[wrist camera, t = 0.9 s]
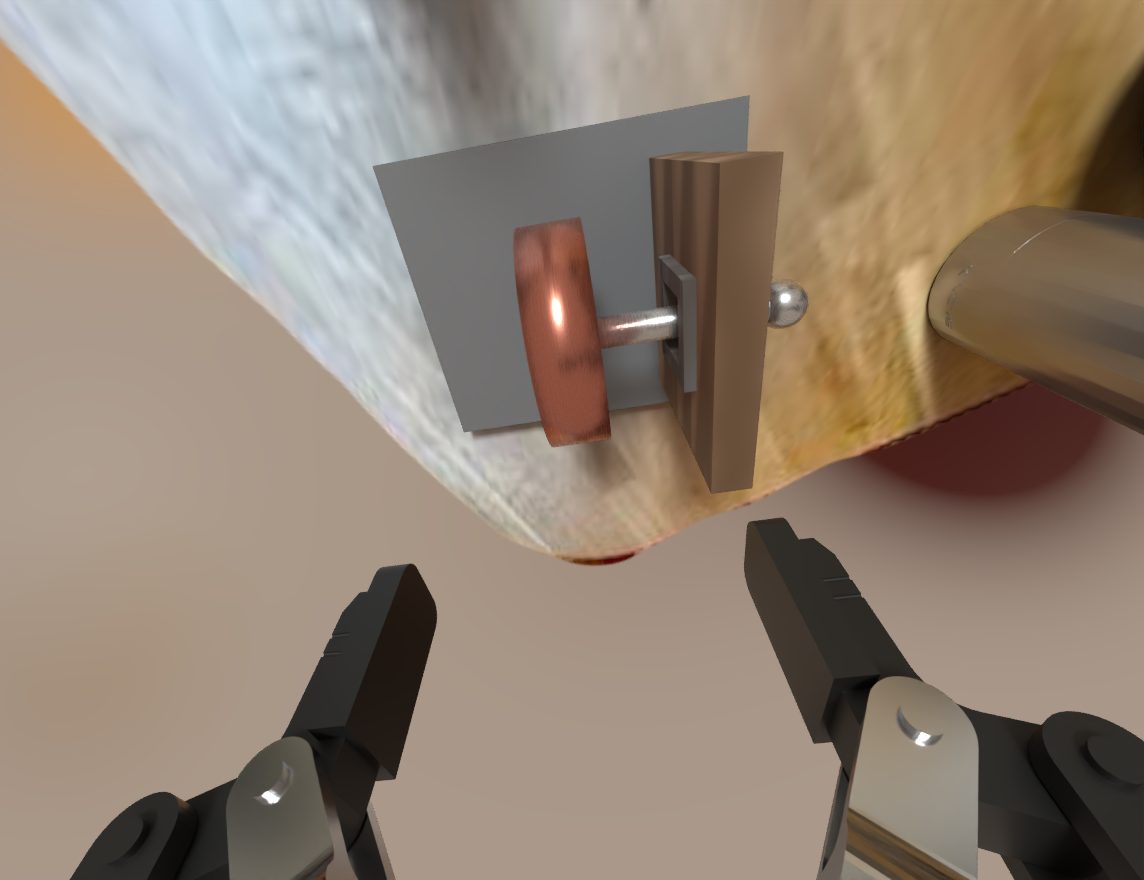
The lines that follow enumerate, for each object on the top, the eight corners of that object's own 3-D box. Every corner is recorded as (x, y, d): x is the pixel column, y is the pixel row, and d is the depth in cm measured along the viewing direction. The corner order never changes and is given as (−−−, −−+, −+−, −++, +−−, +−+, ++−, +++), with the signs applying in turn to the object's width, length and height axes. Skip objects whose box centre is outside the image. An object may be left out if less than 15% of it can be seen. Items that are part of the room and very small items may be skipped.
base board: (739, 98, 25) (749, 95, 24) (727, 383, 35) (733, 392, 33) (381, 165, 26) (372, 166, 25) (467, 422, 36) (463, 432, 35)
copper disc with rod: (771, 170, 24) (907, 182, 15) (756, 358, 30) (845, 451, 21) (522, 214, 25) (502, 252, 15) (556, 389, 31) (556, 491, 21)
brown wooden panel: (684, 151, 25) (783, 151, 14) (686, 375, 32) (752, 488, 22) (638, 159, 25) (701, 166, 14) (651, 380, 33) (699, 495, 22)
